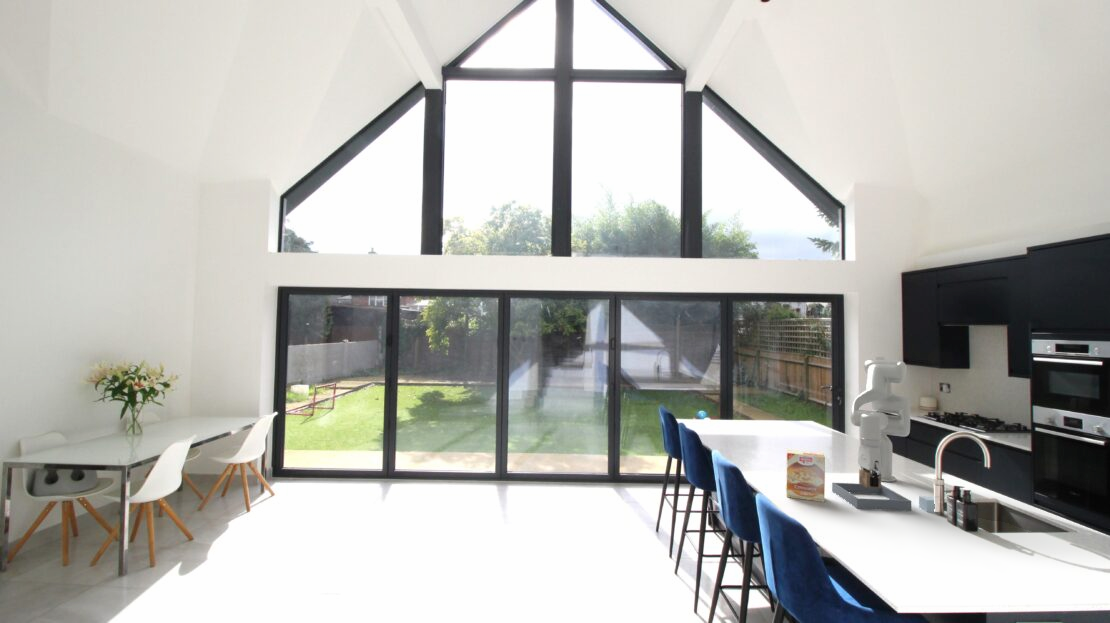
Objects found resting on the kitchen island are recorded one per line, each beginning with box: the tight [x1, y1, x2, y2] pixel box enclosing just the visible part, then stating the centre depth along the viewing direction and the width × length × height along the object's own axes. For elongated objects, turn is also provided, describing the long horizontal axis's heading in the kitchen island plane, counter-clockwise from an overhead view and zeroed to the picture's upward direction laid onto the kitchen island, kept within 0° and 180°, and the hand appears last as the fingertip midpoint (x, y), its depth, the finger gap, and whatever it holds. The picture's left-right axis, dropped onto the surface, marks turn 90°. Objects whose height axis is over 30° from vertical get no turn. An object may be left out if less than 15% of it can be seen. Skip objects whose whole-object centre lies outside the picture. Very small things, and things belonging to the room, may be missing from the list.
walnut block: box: [858, 469, 882, 488], centre depth 223 cm, size 6×6×6 cm
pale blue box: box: [918, 495, 935, 513], centre depth 213 cm, size 5×5×5 cm
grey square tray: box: [831, 482, 912, 512], centre depth 223 cm, size 22×22×4 cm
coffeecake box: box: [785, 449, 826, 503], centre depth 225 cm, size 15×7×20 cm, turn 68°
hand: (869, 483), depth 223 cm, fingers closed on walnut block, 6 cm apart
